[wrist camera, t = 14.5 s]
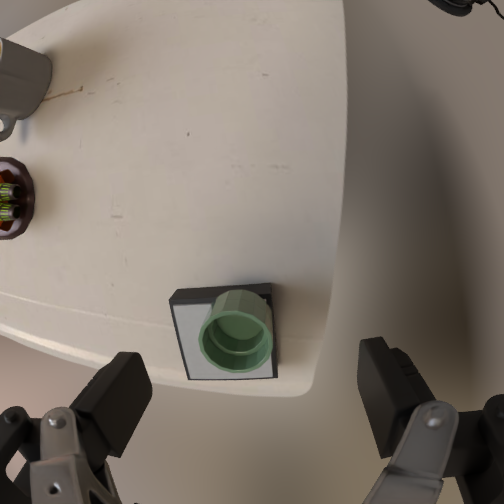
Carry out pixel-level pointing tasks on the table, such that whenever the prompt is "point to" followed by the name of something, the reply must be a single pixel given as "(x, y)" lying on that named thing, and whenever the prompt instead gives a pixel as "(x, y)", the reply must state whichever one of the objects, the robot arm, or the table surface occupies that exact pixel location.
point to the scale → (189, 324)
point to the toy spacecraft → (14, 198)
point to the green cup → (237, 332)
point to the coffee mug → (20, 83)
